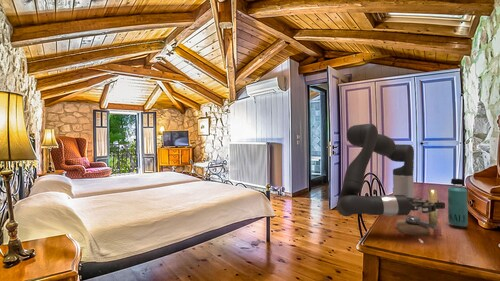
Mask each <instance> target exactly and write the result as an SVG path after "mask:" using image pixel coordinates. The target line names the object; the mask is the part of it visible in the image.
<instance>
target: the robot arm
mask: <svg viewBox="0 0 500 281" xmlns="http://www.w3.org/2000/svg"><path fill="white" fill-rule="evenodd" d="M346 139H347V141H348V142H349V143H350V145H352V146H354V147H358V148H361V149H360V151H359V153H358V154H357V155H356V157H355V158H354V159H353V160H351V161H352V162H350V164H349V165H348V166H347V169H346V171H345V174H344V178H343V182H342V187H341V189H340V193H339V195H338V198H337V202H336V209H337V212H338V214H340V215H341V216H343V217H350V216H353V215H368V216H389V217H390V216H409V214H410V212H411V211H413V212H421V213H422V214H429V212H434V211H436V209H438V210H444V209H446V203H445V202H443V201H442V202H439V200H438V202H428V199H426V198H421V197H414V195H415V194H414V166H415V164H414V163H415V149H414V147H413V145H412V144H396V142H395V141H394V140H393V138H391V137H389V136H387V135H385V134H383V133H382V134H381V133H379V132H378V128H377V126H376V125H375V124H373V123H363V124H362V123H361V124H355V125H351V126H349V128H348V129H347V131H346ZM373 153H375V154H377V155H381V156H383V157H386V158H387V159H389V160H390V161H392V162H396V163H397V162H398V163H403V165H402V166H399V167H396V168H393V169H392V194H384V195H383V194H382V195H369V196H364V195H359V194H360V192H362V188H363V184H364V179H365V175H366V174H365V173H366V170H367V168H368V165H369V162H370V160H371V158H372V155H373Z"/></svg>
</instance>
